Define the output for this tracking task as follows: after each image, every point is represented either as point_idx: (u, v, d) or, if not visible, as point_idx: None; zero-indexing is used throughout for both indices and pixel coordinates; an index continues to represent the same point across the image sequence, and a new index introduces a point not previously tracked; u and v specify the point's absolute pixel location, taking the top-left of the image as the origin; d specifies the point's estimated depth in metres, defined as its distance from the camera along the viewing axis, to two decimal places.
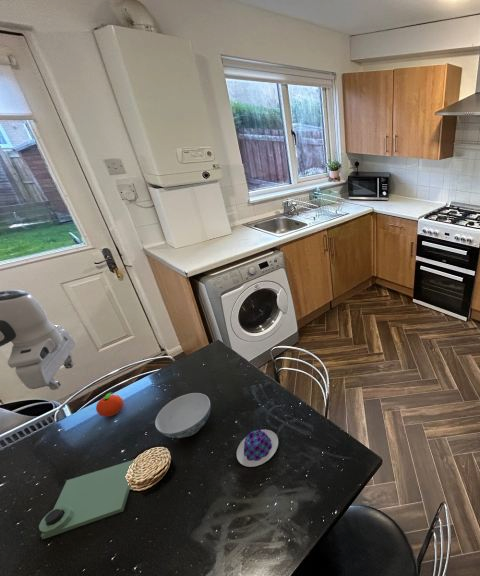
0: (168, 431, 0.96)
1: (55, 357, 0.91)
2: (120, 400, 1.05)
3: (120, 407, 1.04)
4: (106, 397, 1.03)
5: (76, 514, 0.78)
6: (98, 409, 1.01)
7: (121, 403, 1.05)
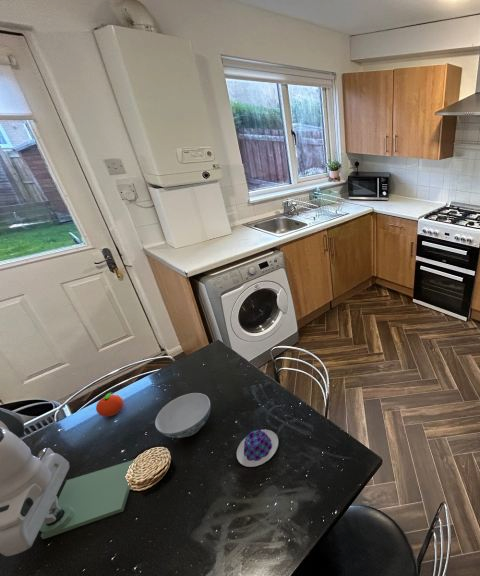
0: (168, 431, 0.96)
1: (42, 500, 0.71)
2: (120, 400, 1.05)
3: (120, 407, 1.04)
4: (106, 397, 1.03)
5: (76, 514, 0.78)
6: (98, 409, 1.01)
7: (121, 403, 1.05)
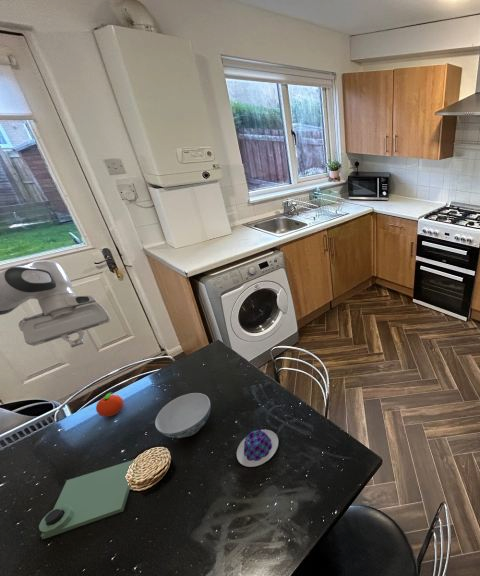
0: (168, 431, 0.96)
1: None
2: (120, 400, 1.05)
3: (120, 407, 1.04)
4: (106, 397, 1.03)
5: (76, 514, 0.78)
6: (98, 409, 1.01)
7: (121, 403, 1.05)
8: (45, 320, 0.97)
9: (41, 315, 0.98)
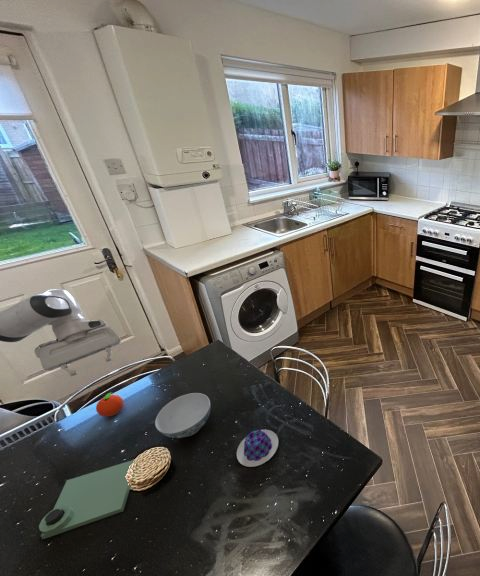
0: (168, 431, 0.96)
1: None
2: (120, 400, 1.05)
3: (120, 407, 1.04)
4: (106, 397, 1.03)
5: (76, 514, 0.78)
6: (98, 409, 1.01)
7: (121, 403, 1.05)
8: (60, 345, 1.03)
9: (55, 341, 1.03)
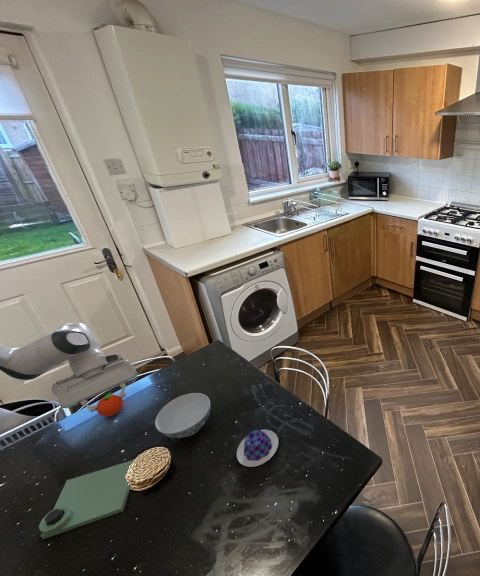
0: (168, 431, 0.96)
1: None
2: (120, 400, 1.05)
3: (120, 407, 1.04)
4: (106, 397, 1.03)
5: (76, 514, 0.78)
6: (98, 409, 1.01)
7: (121, 403, 1.05)
8: (77, 382, 1.00)
9: (72, 377, 1.01)
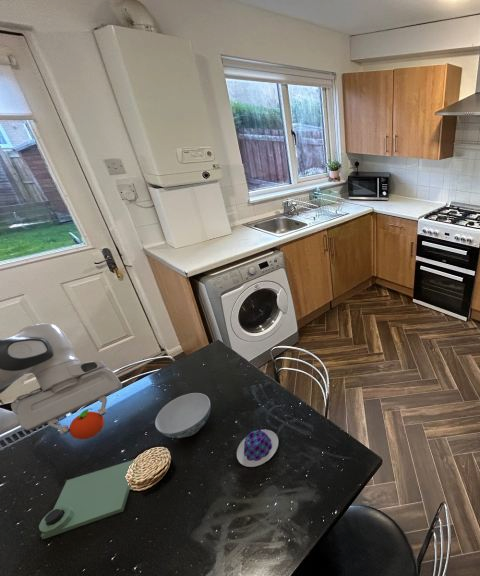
0: (168, 431, 0.96)
1: None
2: (100, 418, 0.85)
3: (100, 427, 0.84)
4: (82, 415, 0.83)
5: (76, 514, 0.78)
6: (71, 430, 0.81)
7: (101, 422, 0.85)
8: (45, 397, 0.80)
9: (39, 391, 0.81)
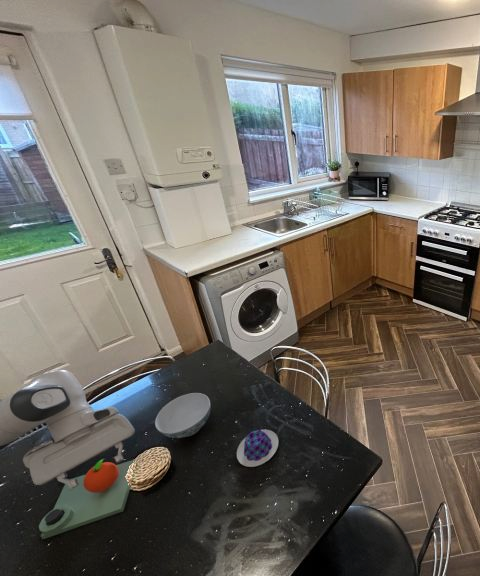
0: (168, 431, 0.96)
1: None
2: (114, 470, 0.83)
3: (114, 479, 0.83)
4: (96, 467, 0.81)
5: (76, 514, 0.78)
6: (86, 485, 0.79)
7: (116, 473, 0.83)
8: (57, 449, 0.78)
9: (51, 442, 0.79)
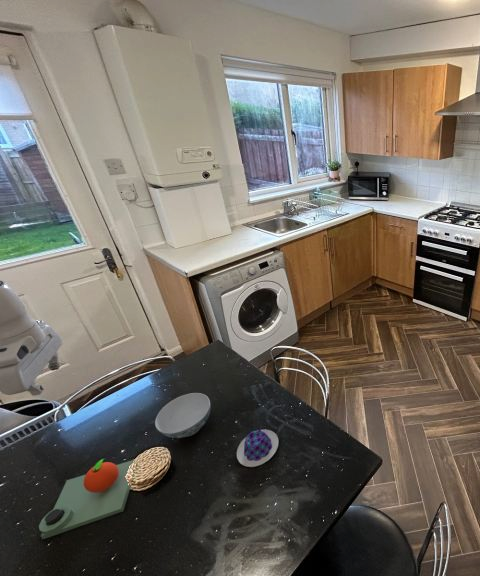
0: (168, 431, 0.96)
1: (36, 357, 0.78)
2: (114, 470, 0.83)
3: (114, 479, 0.83)
4: (96, 467, 0.81)
5: (76, 514, 0.78)
6: (86, 485, 0.79)
7: (116, 473, 0.83)
8: None
9: None
